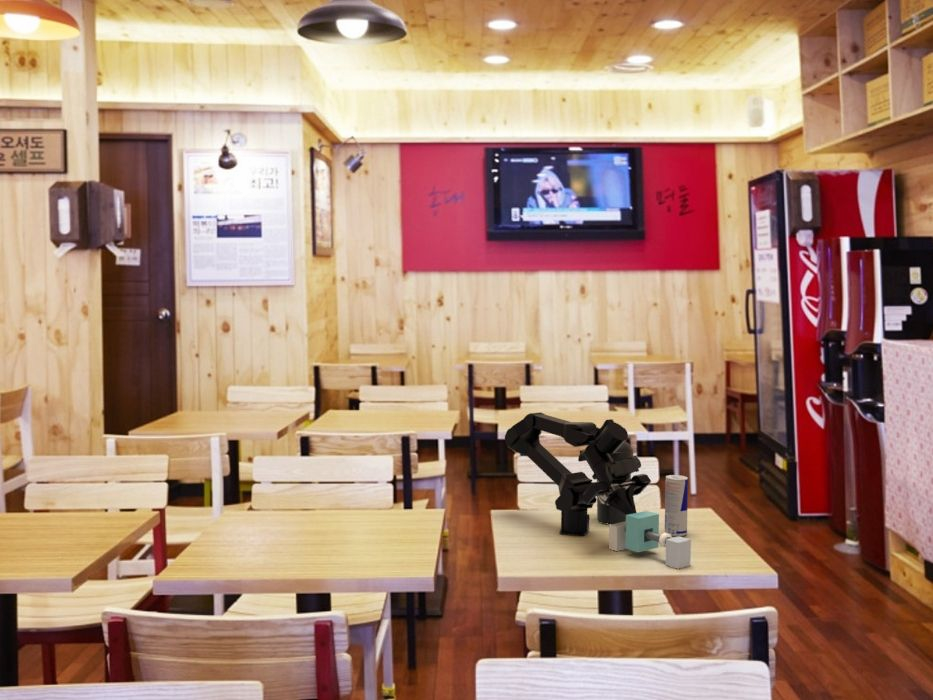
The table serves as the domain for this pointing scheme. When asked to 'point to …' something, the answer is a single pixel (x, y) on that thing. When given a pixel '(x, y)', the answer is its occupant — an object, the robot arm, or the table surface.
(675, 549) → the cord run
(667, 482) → the beverage can
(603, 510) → the water bottle
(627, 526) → the teal block with hole
